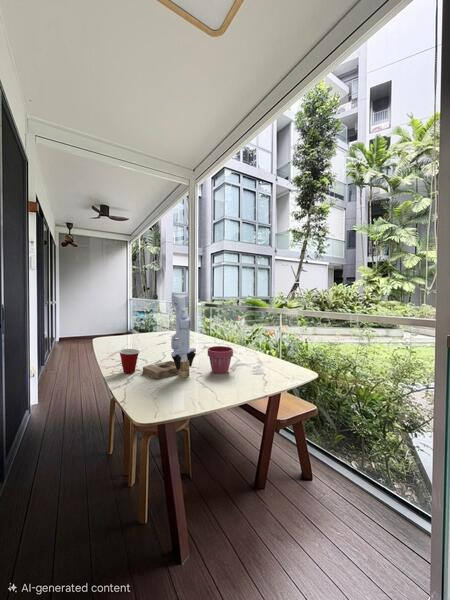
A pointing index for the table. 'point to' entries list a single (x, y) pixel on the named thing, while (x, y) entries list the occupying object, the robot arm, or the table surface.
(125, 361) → the plastic cup
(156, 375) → the walnut socket block
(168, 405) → the table surface
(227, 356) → the plant pot
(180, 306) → the robot arm
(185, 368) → the oak peg
